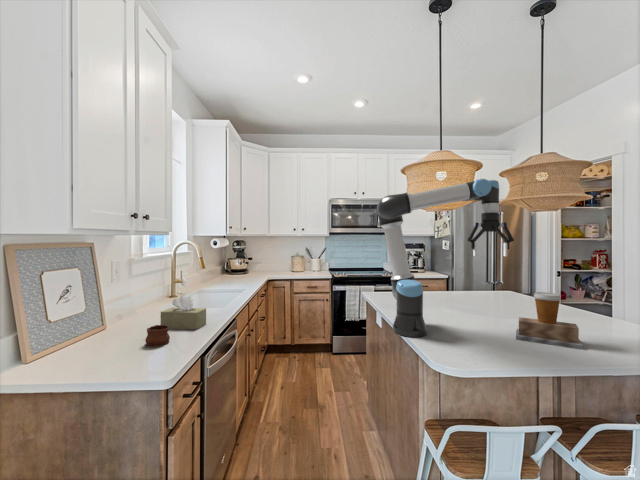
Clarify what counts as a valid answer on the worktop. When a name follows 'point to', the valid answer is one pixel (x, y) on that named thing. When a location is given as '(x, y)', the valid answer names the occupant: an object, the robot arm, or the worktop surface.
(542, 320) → the disposable coffee cup
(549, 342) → the stand
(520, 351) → the worktop surface
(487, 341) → the worktop surface
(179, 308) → the tissue box
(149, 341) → the ceramic pot
